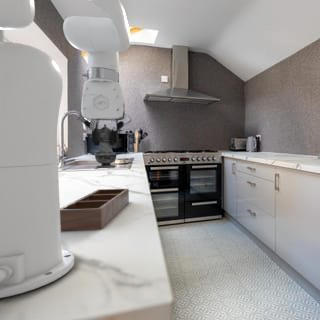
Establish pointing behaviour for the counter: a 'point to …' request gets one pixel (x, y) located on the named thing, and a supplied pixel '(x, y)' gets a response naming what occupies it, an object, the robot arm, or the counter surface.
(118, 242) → the counter surface
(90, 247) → the counter surface
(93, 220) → the divided wooden tray
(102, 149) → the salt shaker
